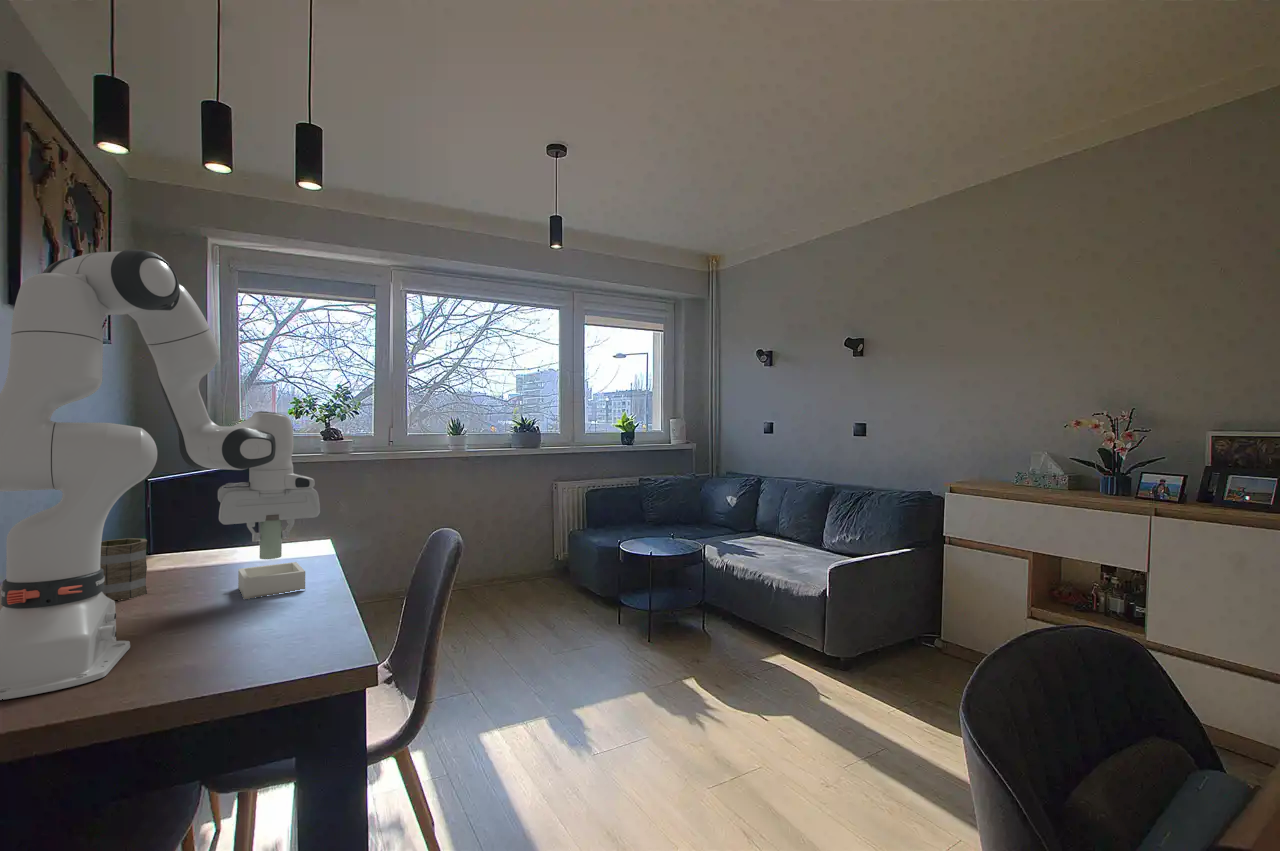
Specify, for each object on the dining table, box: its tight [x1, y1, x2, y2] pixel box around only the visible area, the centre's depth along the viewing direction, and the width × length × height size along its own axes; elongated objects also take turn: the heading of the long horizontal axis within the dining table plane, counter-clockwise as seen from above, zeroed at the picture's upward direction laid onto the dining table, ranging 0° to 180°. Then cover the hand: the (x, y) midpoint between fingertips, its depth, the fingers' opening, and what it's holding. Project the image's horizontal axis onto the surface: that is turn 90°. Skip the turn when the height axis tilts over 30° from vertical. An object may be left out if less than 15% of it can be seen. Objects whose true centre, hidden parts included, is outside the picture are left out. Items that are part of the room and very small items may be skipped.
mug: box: [100, 537, 148, 602], centre depth 137 cm, size 16×11×12 cm
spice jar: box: [259, 515, 283, 560], centre depth 142 cm, size 5×5×10 cm
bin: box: [237, 561, 306, 600], centre depth 142 cm, size 12×12×5 cm
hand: (270, 539), depth 142 cm, fingers closed on spice jar, 4 cm apart
